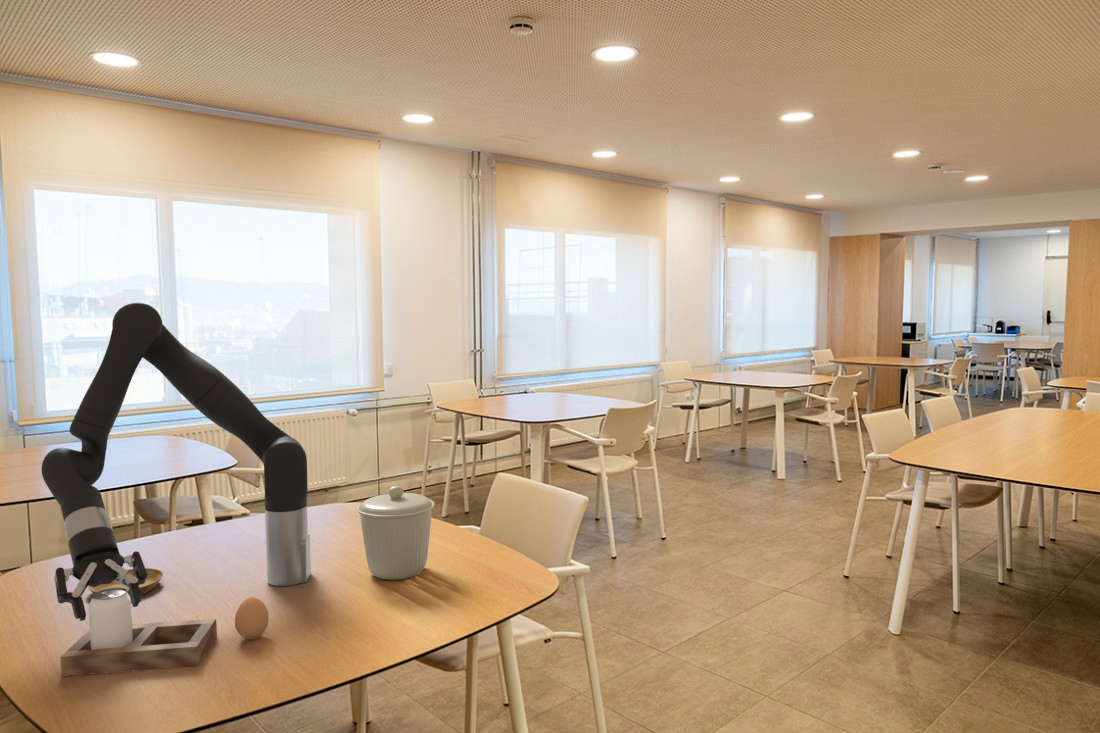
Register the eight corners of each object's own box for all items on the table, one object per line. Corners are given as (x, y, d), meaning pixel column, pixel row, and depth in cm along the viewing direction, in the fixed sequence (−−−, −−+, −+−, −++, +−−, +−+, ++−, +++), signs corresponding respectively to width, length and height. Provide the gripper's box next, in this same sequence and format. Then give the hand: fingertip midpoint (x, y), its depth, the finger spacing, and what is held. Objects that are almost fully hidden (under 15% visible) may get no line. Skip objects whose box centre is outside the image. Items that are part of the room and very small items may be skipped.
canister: (381, 593, 162) (379, 499, 161) (345, 571, 176) (342, 485, 174) (450, 573, 174) (449, 486, 173) (411, 555, 188) (409, 474, 186)
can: (103, 669, 128) (99, 602, 127) (84, 660, 132) (81, 595, 131) (140, 654, 134) (137, 590, 133) (121, 646, 137) (118, 583, 136)
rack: (216, 636, 141) (216, 618, 141) (197, 665, 129) (196, 646, 129) (93, 645, 138) (92, 627, 137) (61, 676, 126) (60, 656, 125)
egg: (258, 646, 137) (256, 605, 136) (229, 643, 138) (227, 603, 137) (275, 632, 143) (274, 592, 142) (247, 630, 144) (245, 591, 143)
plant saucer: (131, 606, 157) (131, 594, 157) (72, 601, 159) (71, 589, 159) (178, 580, 171) (177, 569, 171) (122, 577, 174) (122, 566, 174)
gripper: (48, 534, 133) (67, 613, 126) (135, 518, 143) (157, 590, 136) (44, 555, 137) (61, 633, 130) (128, 538, 147) (149, 610, 140)
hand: (110, 611), depth 133 cm, fingers open, 8 cm apart
